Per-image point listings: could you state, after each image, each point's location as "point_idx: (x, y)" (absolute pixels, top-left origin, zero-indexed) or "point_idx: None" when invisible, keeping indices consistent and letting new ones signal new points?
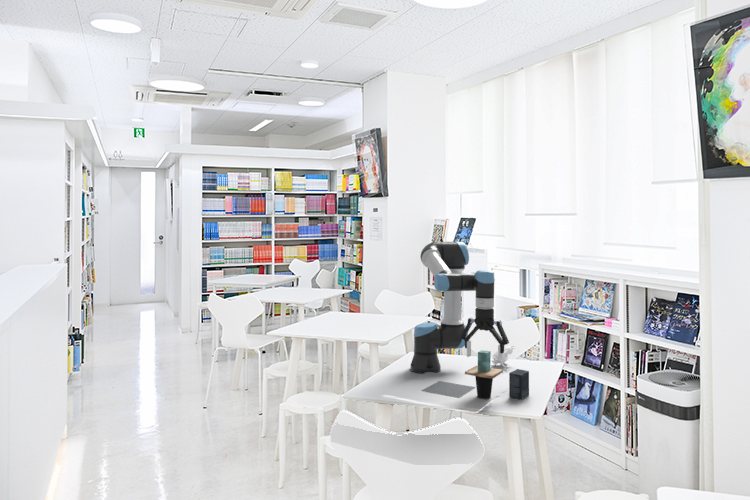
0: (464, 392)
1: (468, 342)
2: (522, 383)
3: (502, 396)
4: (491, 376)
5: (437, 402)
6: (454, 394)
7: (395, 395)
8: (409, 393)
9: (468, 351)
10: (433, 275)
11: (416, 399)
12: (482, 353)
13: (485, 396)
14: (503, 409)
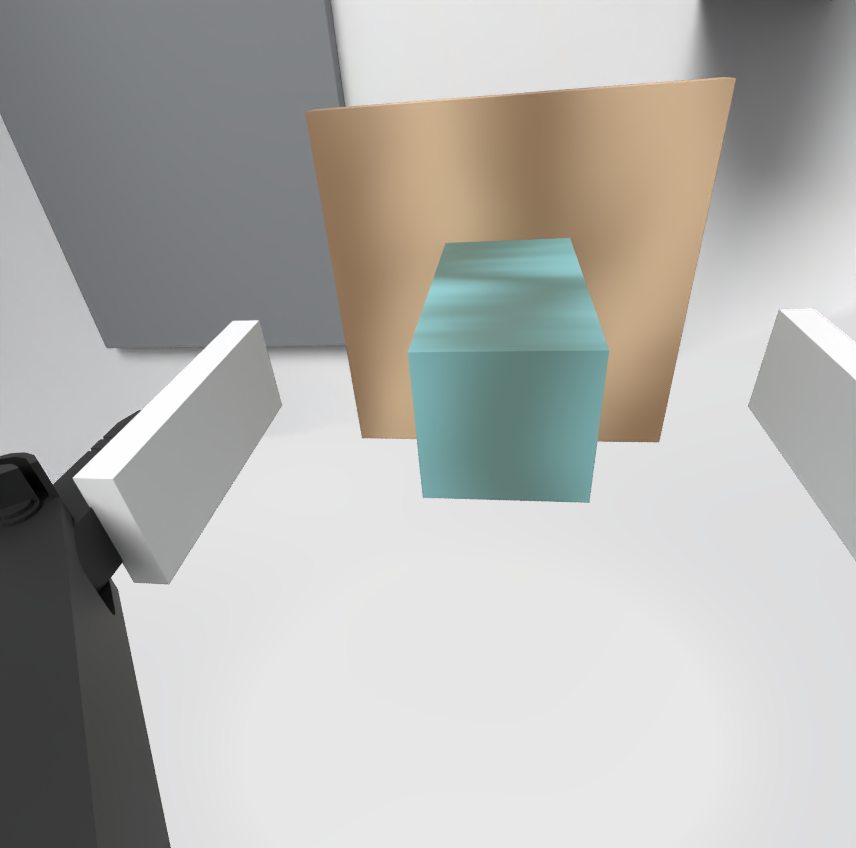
0: None
1: (176, 571)
2: None
3: (629, 17)
4: (644, 440)
5: (302, 431)
6: (305, 296)
7: (74, 443)
8: (84, 380)
9: (250, 452)
10: None
11: None
12: (505, 489)
13: None
14: (697, 343)
